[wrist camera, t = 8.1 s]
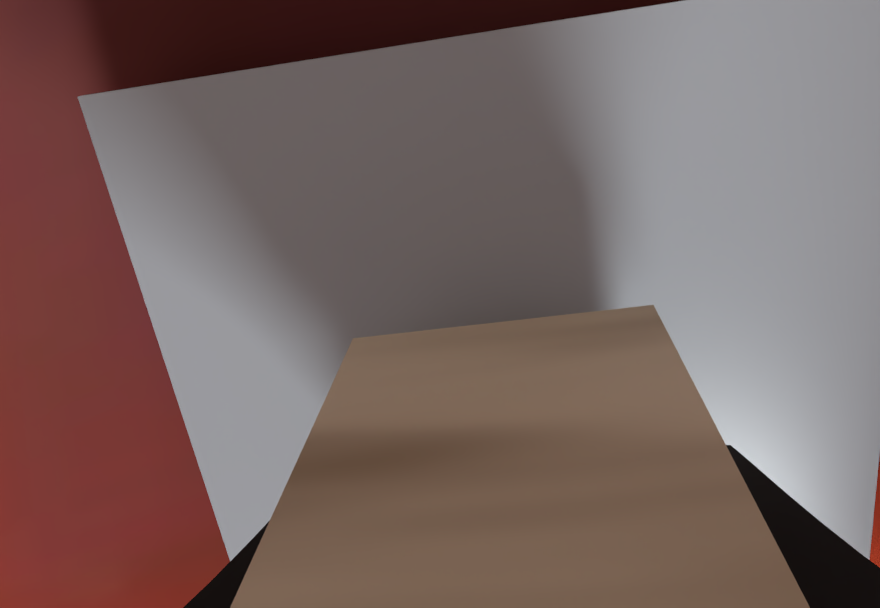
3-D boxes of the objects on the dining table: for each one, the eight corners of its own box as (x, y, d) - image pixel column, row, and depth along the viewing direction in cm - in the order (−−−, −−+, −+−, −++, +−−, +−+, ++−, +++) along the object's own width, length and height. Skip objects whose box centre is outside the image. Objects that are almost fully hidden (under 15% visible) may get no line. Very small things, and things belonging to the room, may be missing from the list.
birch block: (666, 550, 12) (807, 1018, 6) (404, 567, 12) (327, 1008, 7) (653, 304, 10) (830, 647, 5) (352, 338, 11) (197, 677, 5)
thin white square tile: (811, 557, 17) (861, 645, 14) (295, 587, 18) (266, 670, 16) (844, -29, 12) (926, -38, 10) (149, 81, 14) (77, 96, 11)
